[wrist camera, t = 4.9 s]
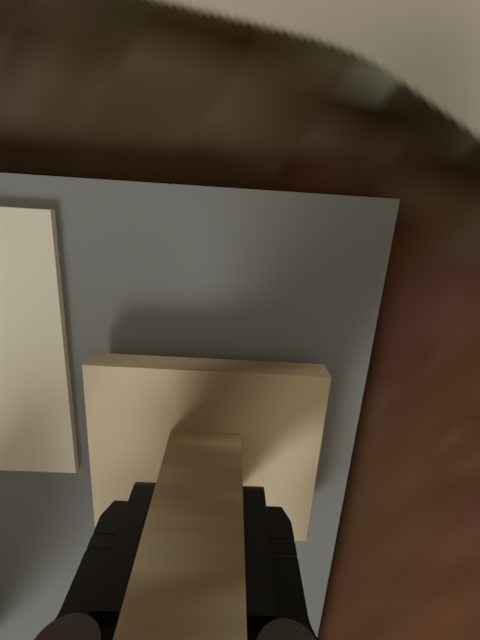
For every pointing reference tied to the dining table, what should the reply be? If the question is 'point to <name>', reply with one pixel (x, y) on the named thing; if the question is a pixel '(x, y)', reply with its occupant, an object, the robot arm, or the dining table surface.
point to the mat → (195, 337)
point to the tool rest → (33, 347)
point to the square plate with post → (199, 475)
